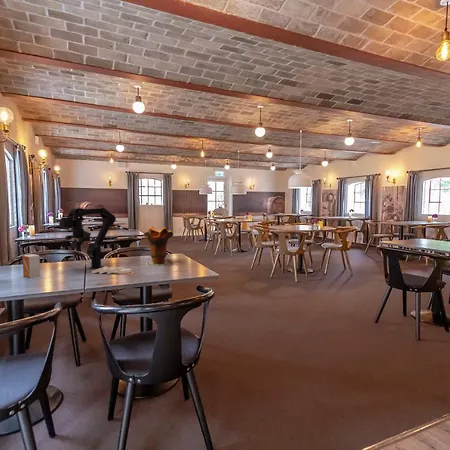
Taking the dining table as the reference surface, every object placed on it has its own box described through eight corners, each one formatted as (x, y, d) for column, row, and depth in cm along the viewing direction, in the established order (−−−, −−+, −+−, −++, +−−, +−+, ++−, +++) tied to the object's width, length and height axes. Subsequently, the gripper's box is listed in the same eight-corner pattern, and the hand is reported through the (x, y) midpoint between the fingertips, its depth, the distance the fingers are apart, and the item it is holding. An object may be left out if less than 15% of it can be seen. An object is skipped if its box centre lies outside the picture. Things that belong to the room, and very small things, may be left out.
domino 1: (96, 269, 205) (107, 265, 204) (97, 271, 205) (107, 268, 204) (91, 271, 200) (102, 267, 199) (92, 273, 200) (103, 269, 199)
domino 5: (123, 271, 202) (134, 272, 201) (123, 274, 202) (135, 274, 201) (119, 273, 197) (131, 273, 196) (119, 275, 197) (131, 276, 196)
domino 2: (103, 269, 204) (114, 266, 203) (104, 272, 204) (114, 268, 203) (99, 271, 199) (110, 267, 198) (99, 273, 199) (110, 270, 198)
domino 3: (110, 270, 204) (121, 266, 202) (111, 272, 204) (122, 268, 202) (106, 271, 199) (117, 267, 198) (107, 274, 199) (118, 270, 198)
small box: (23, 276, 193) (22, 255, 192) (34, 274, 198) (33, 253, 197) (29, 278, 188) (28, 256, 187) (40, 276, 194) (39, 255, 193)
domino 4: (119, 269, 202) (132, 268, 202) (120, 271, 202) (132, 271, 202) (116, 270, 197) (129, 270, 197) (116, 273, 197) (129, 272, 197)
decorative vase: (170, 258, 248) (169, 223, 245) (175, 266, 227) (174, 227, 223) (142, 260, 242) (141, 224, 238) (145, 268, 220) (144, 228, 216)
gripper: (97, 227, 207) (97, 251, 208) (80, 225, 217) (81, 248, 218) (81, 228, 197) (82, 253, 199) (64, 227, 208) (65, 250, 209)
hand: (78, 251), depth 206 cm, fingers closed
